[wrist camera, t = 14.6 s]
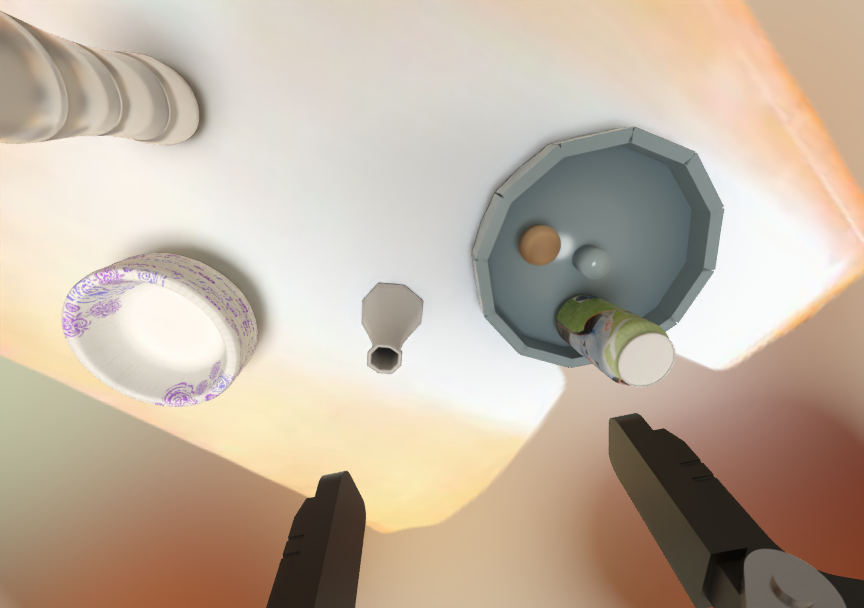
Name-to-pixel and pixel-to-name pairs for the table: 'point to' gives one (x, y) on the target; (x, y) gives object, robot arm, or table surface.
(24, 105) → the plastic bottle
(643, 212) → the tray
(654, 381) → the beverage can
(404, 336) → the flask
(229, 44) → the table surface
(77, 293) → the paper bowls
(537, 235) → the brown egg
